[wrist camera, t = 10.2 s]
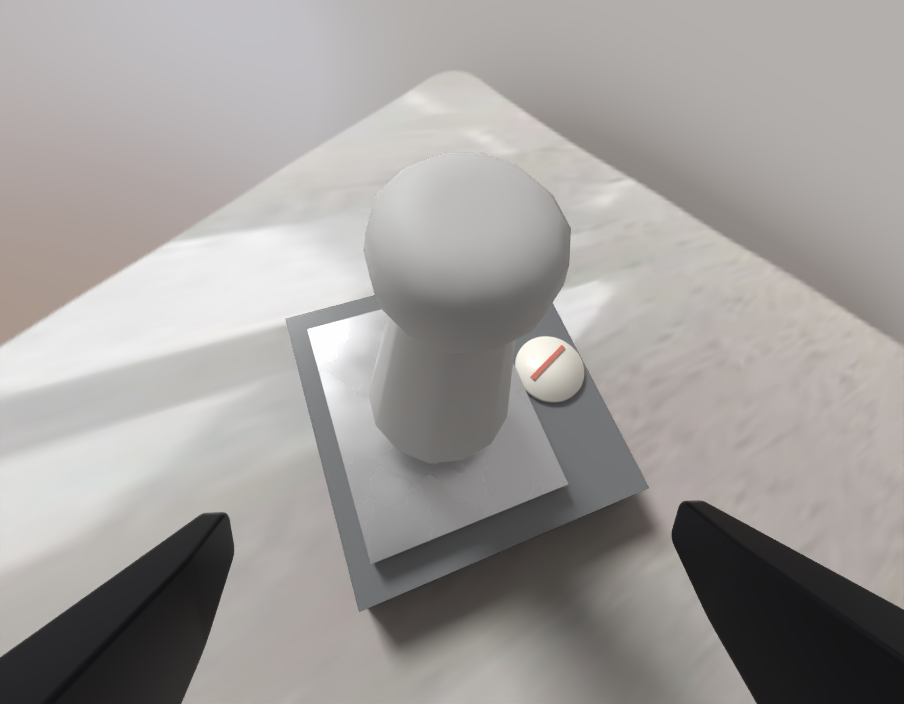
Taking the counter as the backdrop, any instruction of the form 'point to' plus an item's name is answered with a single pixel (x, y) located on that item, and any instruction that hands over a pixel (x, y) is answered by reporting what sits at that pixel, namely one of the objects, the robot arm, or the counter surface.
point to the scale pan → (410, 479)
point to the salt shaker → (457, 296)
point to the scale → (589, 489)
